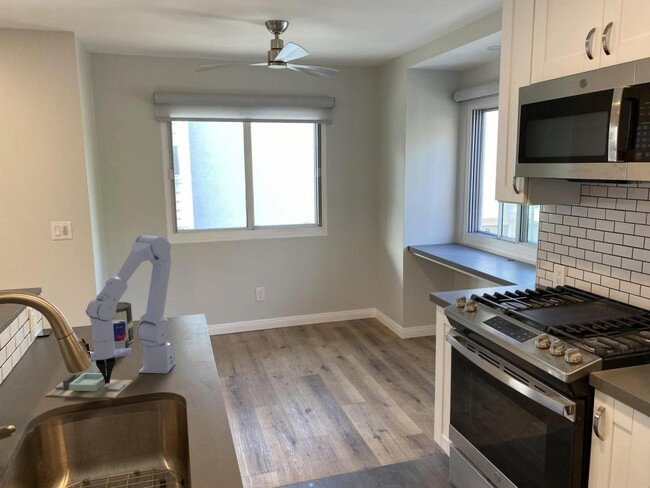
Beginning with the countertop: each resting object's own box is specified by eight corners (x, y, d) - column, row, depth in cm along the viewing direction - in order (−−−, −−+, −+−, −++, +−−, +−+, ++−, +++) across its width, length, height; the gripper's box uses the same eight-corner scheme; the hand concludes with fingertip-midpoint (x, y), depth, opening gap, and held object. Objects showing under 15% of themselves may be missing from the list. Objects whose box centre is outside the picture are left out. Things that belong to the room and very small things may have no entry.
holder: (110, 379, 153) (109, 373, 153) (96, 391, 145) (95, 385, 145) (85, 378, 154) (84, 372, 154) (69, 390, 146) (69, 384, 146)
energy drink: (123, 356, 174) (120, 323, 172) (109, 355, 175) (106, 322, 173) (131, 350, 179) (129, 318, 177) (118, 349, 180) (115, 318, 178)
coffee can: (123, 335, 196) (120, 300, 193) (139, 339, 190) (137, 304, 188) (99, 343, 187) (95, 307, 185) (116, 348, 181) (112, 311, 179)
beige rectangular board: (132, 381, 154) (131, 371, 154) (115, 398, 144) (114, 387, 143) (68, 379, 156) (67, 369, 156) (46, 396, 145) (44, 385, 145)
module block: (102, 369, 164) (100, 351, 163) (94, 375, 159) (92, 357, 158) (87, 368, 164) (86, 351, 163) (79, 375, 159) (77, 357, 158)
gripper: (128, 330, 153) (131, 372, 156) (75, 339, 147) (80, 382, 149) (130, 337, 147) (134, 380, 150) (76, 346, 141) (80, 391, 143)
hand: (107, 382), depth 149 cm, fingers closed
